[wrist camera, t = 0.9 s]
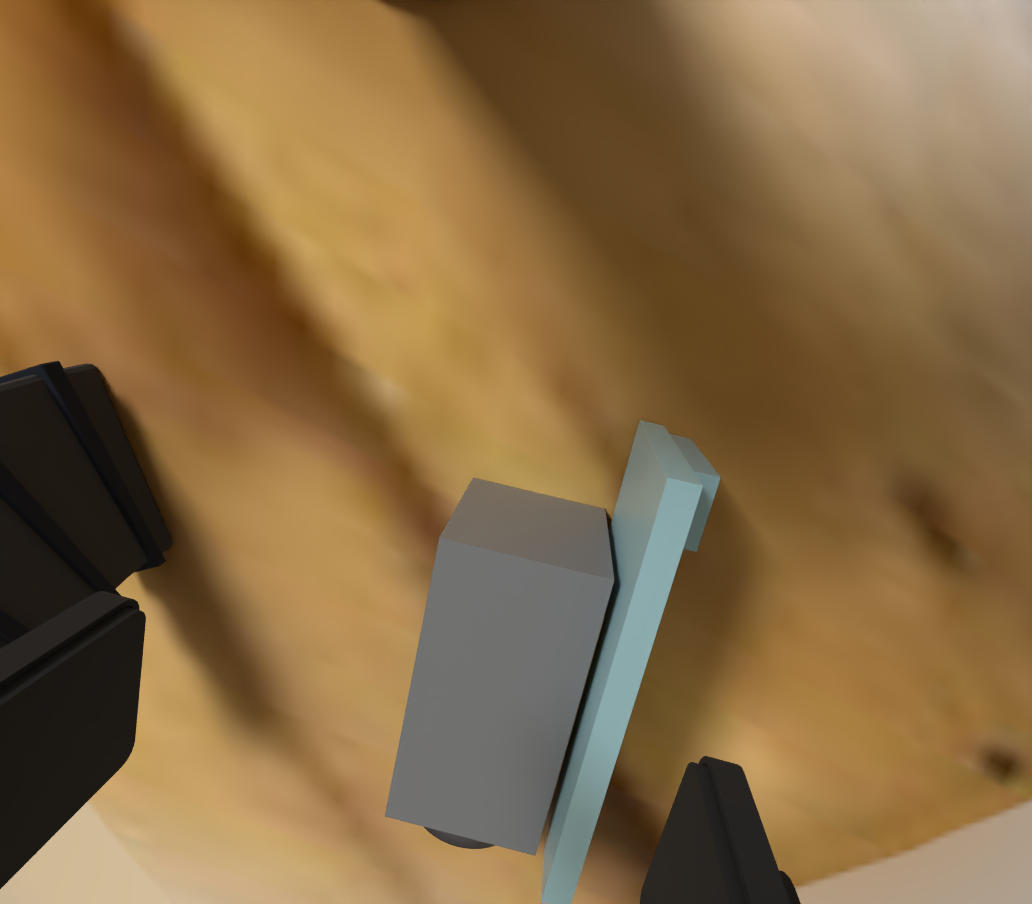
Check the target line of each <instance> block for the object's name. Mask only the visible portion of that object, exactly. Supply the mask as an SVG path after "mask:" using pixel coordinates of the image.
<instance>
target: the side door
mask: <svg viewBox="0 0 1032 904" xmlns="http://www.w3.org/2000/svg"><path fill="white" fill-rule="evenodd" d="M720 479H721V477H720V476H719V474H718V473H717V472H716V470H715V469H714V468H713V467H712V465H711V464H710V463H709V461H708V460H707V459H706V458H705V456H704V455H703V454H702V452H701V451H700V450H699V449H698V447H697V446H696V445H695V443H694V442H693V441H692V439H690V438H686V437H681V436H677V435H673V434H669V432H668V431H667V429H666V428H665V426H664V425H659V424H655V423H651V422H646V421H642V420H640V421H639V424H638V428H637V431H636V435H635V439H634V442H633V446H632V449H631V453H630V457H629V460H628V464H627V467H626V471H625V475H624V478H623V482H622V485H621V489H620V493H619V496H618V500H617V504H616V507H615V511H614V514H613V518H612V522H611V525H610V529H609V532H608V534H609V542H610V550H611V558H612V565H613V573H614V583H613V587H612V590H611V594H610V597H609V601H608V604H607V607H606V611H605V614H604V616H605V617H604V620H603V624H602V627H601V631H600V634H599V637H598V641H597V644H596V648H595V651H594V655H593V658H592V662H591V665H590V669H589V672H588V676H587V679H586V683H585V686H584V690H583V693H582V697H581V700H580V704H579V707H578V711H577V714H576V718H575V721H574V725H573V728H572V731H571V735H570V738H569V742H568V745H567V749H566V752H565V756H564V759H563V763H562V766H561V770H560V773H559V777H558V780H557V784H556V787H555V791H554V794H553V798H552V801H551V805H550V808H549V810H548V813H547V817H546V829H545V846H544V863H543V880H542V896H541V904H571V902H572V899H573V896H574V893H575V889H576V886H577V883H578V880H579V877H580V874H581V870H582V867H583V864H584V861H585V858H586V855H587V851H588V848H589V845H590V842H591V839H592V836H593V833H594V829H595V826H596V823H597V820H598V817H599V814H600V810H601V807H602V804H603V801H604V798H605V795H606V791H607V788H608V785H609V782H610V779H611V776H612V772H613V769H614V766H615V763H616V760H617V757H618V754H619V750H620V747H621V744H622V741H623V738H624V735H625V731H626V728H627V725H628V722H629V719H630V716H631V712H632V709H633V706H634V703H635V700H636V697H637V693H638V690H639V687H640V684H641V681H642V678H643V674H644V671H645V668H646V665H647V662H648V659H649V656H650V652H651V649H652V646H653V643H654V640H655V637H656V633H657V630H658V627H659V624H660V621H661V618H662V614H663V611H664V608H665V605H666V602H667V599H668V595H669V592H670V589H671V586H672V583H673V580H674V576H675V573H676V570H677V567H678V564H679V561H680V558H681V554H682V551H683V549H685V550H690V551H694V552H697V550H698V547H699V543H700V540H701V537H702V534H703V531H704V528H705V525H706V522H707V519H708V516H709V513H710V509H711V506H712V503H713V500H714V497H715V494H716V491H717V488H718V485H719V482H720Z"/></svg>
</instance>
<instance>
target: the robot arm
mask: <svg viewBox="0 0 1032 904" xmlns="http://www.w3.org/2000/svg"><path fill="white" fill-rule="evenodd" d="M145 622H146V617H145V614H144V612H142V611H139V604H138V602H137V601H135V600H134V599H130V598H127V597H123V596H119V595H116V594H112V593H108V592H105V591H99V592H96V593H94V594H92V595H90V596H89V597H87V598H85V599H84V600H82V601H80V602H79V603H77V604H75V605H73V606H72V607H70V608H68V609H67V610H65V611H63V612H62V613H60V614H58V615H57V616H55V617H53V618H52V619H50V620H48V621H46V622H45V623H43V624H41V625H40V626H38V627H36V628H35V629H33V630H31V631H30V632H28V633H26V634H25V635H23V636H21V637H19V638H18V639H16V640H14V641H13V642H11V643H9V644H8V645H6V646H4V647H3V648H1V649H0V889H1V888H2V887H3V886H4V885H5V884H6V883H7V882H8V880H10V879H11V878H12V877H13V876H14V875H15V874H16V872H18V871H19V870H20V869H21V868H22V867H23V866H24V865H25V864H26V863H27V862H28V861H29V859H31V858H32V856H34V855H35V854H36V853H37V851H38V850H39V849H41V848H42V847H43V846H44V845H45V843H46V842H47V841H48V840H49V839H50V838H51V837H52V836H53V835H54V834H55V833H56V832H57V831H58V830H59V829H60V828H61V827H62V826H63V825H64V824H65V823H66V822H67V821H68V820H69V819H70V818H71V817H72V816H73V815H74V814H75V813H76V812H77V811H78V810H79V809H80V808H81V807H82V806H83V805H84V804H85V803H86V802H87V801H88V800H89V799H90V798H91V797H92V796H93V795H94V794H95V793H96V792H97V791H98V790H99V789H100V788H101V787H102V786H103V785H104V784H105V783H106V782H107V781H108V780H109V779H110V778H111V777H112V776H113V775H114V774H115V773H116V772H117V771H118V770H119V769H120V768H121V767H122V766H123V765H124V763H125V762H126V761H127V759H128V758H129V756H130V754H131V752H132V749H133V747H134V743H135V734H136V723H137V712H138V701H139V689H140V678H141V667H142V656H143V645H144V633H145ZM640 904H801V903H800V901H799V898H798V895H797V893H796V890H795V888H794V886H793V884H792V881H791V879H790V878H789V877H788V876H787V875H786V874H785V873H784V872H783V871H779V870H778V867H777V864H776V861H775V858H774V856H773V853H772V850H771V847H770V844H769V841H768V839H767V836H766V833H765V830H764V827H763V825H762V822H761V819H760V816H759V813H758V810H757V808H756V805H755V802H754V799H753V796H752V793H751V791H750V788H749V785H748V782H747V779H746V776H745V774H744V771H743V769H742V767H741V766H739V765H737V764H734V763H730V762H726V761H723V760H719V759H715V758H712V757H708V756H704V757H702V759H701V760H700V762H699V764H697V763H694V762H690V763H689V764H688V766H687V768H686V771H685V773H684V776H683V779H682V781H681V784H680V787H679V790H678V792H677V795H676V798H675V800H674V803H673V806H672V808H671V811H670V814H669V817H668V819H667V822H666V825H665V827H664V830H663V833H662V835H661V838H660V841H659V844H658V846H657V849H656V852H655V854H654V857H653V860H652V862H651V865H650V868H649V871H648V873H647V876H646V879H645V881H644V884H643V887H642V891H641V897H640Z"/></svg>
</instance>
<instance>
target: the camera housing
mask: <svg viewBox="0 0 1032 904" xmlns="http://www.w3.org/2000/svg"><path fill="white" fill-rule="evenodd" d="M613 583H614V573H613V565H612V558H611V550H610V542H609V534H608V526H607V518H606V511H605V509H603V508H599V507H594V506H590V505H586V504H582V503H577V502H573V501H569V500H565V499H561V498H556V497H552V496H548V495H544V494H539V493H535V492H531V491H527V490H523V489H518V488H514V487H510V486H506V485H502V484H497V483H493V482H489V481H485V480H480V479H476V478H473V479H472V481H471V482H470V484H469V486H468V488H467V490H466V491H465V493H464V495H463V497H462V498H461V500H460V502H459V504H458V506H457V507H456V509H455V511H454V513H453V514H452V516H451V518H450V520H449V521H448V523H447V525H446V527H445V529H444V530H443V532H442V534H441V536H440V537H439V542H438V547H437V552H436V557H435V562H434V568H433V573H432V578H431V583H430V588H429V593H428V598H427V603H426V609H425V614H424V619H423V624H422V629H421V634H420V639H419V644H418V650H417V655H416V660H415V665H414V670H413V675H412V680H411V685H410V690H409V696H408V701H407V706H406V711H405V716H404V721H403V726H402V731H401V737H400V742H399V747H398V752H397V757H396V762H395V767H394V772H393V778H392V783H391V788H390V793H389V798H388V803H387V808H386V813H385V817H389V818H393V819H397V820H401V821H404V822H408V823H412V824H416V825H420V826H423V827H424V828H425V829H426V830H427V831H428V832H430V833H431V834H432V835H433V836H435V837H436V838H438V839H440V840H441V841H444V842H446V843H448V844H451V845H454V846H457V847H462V848H469V849H482V848H488V847H492V846H495V845H496V846H500V847H504V848H508V849H512V850H516V851H519V852H523V853H527V854H531V855H536V851H537V848H538V845H539V841H540V838H541V834H542V831H543V827H544V824H545V820H546V817H547V813H548V810H549V808H550V805H551V801H552V798H553V794H554V791H555V787H556V784H557V780H558V777H559V773H560V770H561V766H562V763H563V759H564V756H565V752H566V749H567V745H568V742H569V738H570V735H571V731H572V728H573V725H574V721H575V718H576V714H577V711H578V707H579V704H580V700H581V697H582V693H583V690H584V686H585V683H586V679H587V676H588V672H589V669H590V665H591V662H592V658H593V655H594V651H595V648H596V644H597V641H598V637H599V634H600V631H601V627H602V624H603V620H604V617H605V616H604V614H605V611H606V607H607V604H608V601H609V597H610V594H611V590H612V587H613Z"/></svg>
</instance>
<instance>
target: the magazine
mask: <svg viewBox="0 0 1032 904" xmlns="http://www.w3.org/2000/svg"><path fill="white" fill-rule="evenodd" d="M171 546H172V540H171V537H170V535H169V533H168V531H167V528H166V526H165V524H164V521H163V519H162V517H161V515H160V512H159V510H158V508H157V506H156V503H155V501H154V499H153V496H152V494H151V492H150V490H149V487H148V485H147V483H146V481H145V478H144V476H143V474H142V471H141V469H140V467H139V465H138V462H137V460H136V458H135V455H134V453H133V451H132V449H131V446H130V444H129V442H128V440H127V437H126V435H125V433H124V430H123V428H122V426H121V424H120V421H119V419H118V417H117V415H116V412H115V410H114V408H113V405H112V403H111V401H110V399H109V396H108V394H107V392H106V390H105V387H104V385H103V383H102V380H101V378H100V376H99V374H98V371H97V369H96V367H95V366H94V365H92V364H82V365H77V366H72V367H67V368H63V367H62V366H61V364H60V362H59V361H55V362H49V363H44V364H40V365H37V366H33V367H30V368H27V369H24V370H21V371H18V372H15V373H12V374H8V375H5V376H2V377H0V649H1V648H3V647H4V646H6V645H8V644H9V643H11V642H13V641H14V640H16V639H18V638H19V637H21V636H23V635H25V634H26V633H28V632H30V631H31V630H33V629H35V628H36V627H38V626H40V625H41V624H43V623H45V622H46V621H48V620H50V619H52V618H53V617H55V616H57V615H58V614H60V613H62V612H63V611H65V610H67V609H68V608H70V607H72V606H73V605H75V604H77V603H79V602H80V601H82V600H84V599H85V598H87V597H89V596H90V595H92V594H94V593H96V592H99V591H105V592H108V593H112V594H116V595H119V596H121V595H120V594H119V593H118V592H117V591H116V590H115V589H116V588H117V587H118V586H119V585H120V584H121V583H122V582H123V581H124V580H125V579H126V578H127V577H129V576H130V575H131V574H132V573H134V572H137V571H141V570H145V569H149V568H153V567H157V566H160V565H161V564H163V563H164V562H165V561H166V560H165V558H164V556H163V554H162V553H163V552H164V551H166V550H167V549H169V548H170V547H171Z"/></svg>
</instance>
